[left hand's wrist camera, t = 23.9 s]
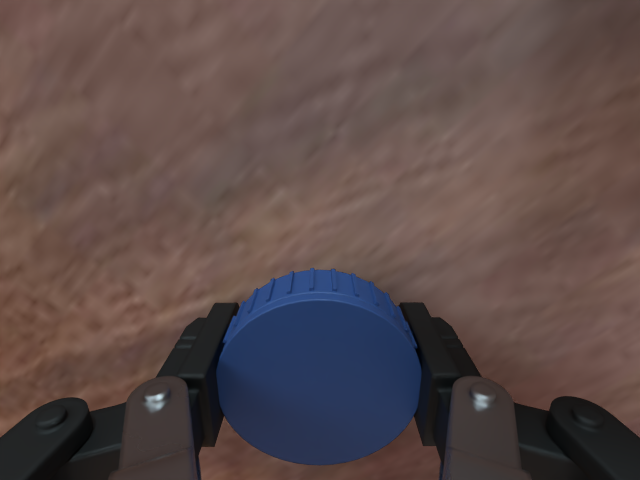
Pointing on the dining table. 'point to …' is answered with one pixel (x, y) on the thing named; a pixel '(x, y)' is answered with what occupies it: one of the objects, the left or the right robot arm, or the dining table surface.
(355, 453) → the lid
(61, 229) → the dining table surface
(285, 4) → the dining table surface
